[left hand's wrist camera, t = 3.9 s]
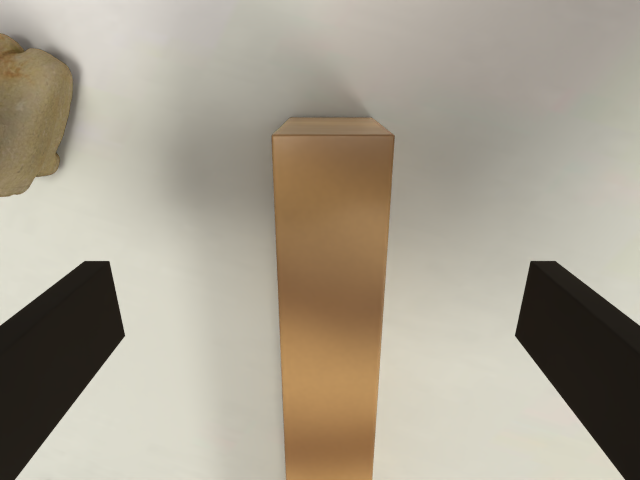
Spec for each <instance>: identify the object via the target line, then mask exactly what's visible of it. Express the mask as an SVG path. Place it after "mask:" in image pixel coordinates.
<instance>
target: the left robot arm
mask: <svg viewBox="0 0 640 480" xmlns="http://www.w3.org/2000/svg"><path fill="white" fill-rule="evenodd" d="M124 336H125V333H124V329H123V324H122V319H121V314H120V310H119V305H118V300H117V295H116V291H115V286H114V281H113V276H112V272H111V267H110V262H109V261H84V262H83V263H82V264H80V265H79V266H78V267H76V268H75V269H74V270H72V271H71V272H70V273H69V274H67V275H66V276H65V277H63V278H62V279H61V280H59V281H58V282H57V283H55V284H54V285H53V286H52V287H50V288H49V289H48V290H46V291H45V292H44V293H42V294H41V295H40V296H39V297H37V298H36V299H35V300H33V301H32V302H31V303H29V304H28V305H27V306H25V307H24V308H23V309H22V310H20V311H19V312H18V313H16V314H15V315H14V316H12V317H11V318H10V319H8V320H7V321H6V322H5V323H3V324H2V325H1V326H0V480H15V479H16V478H17V476H18V475H19V474H20V472H21V471H22V470H23V468H24V467H25V466H26V464H27V463H28V462H29V461H30V459H31V458H32V457H33V455H34V454H35V453H36V451H37V450H38V449H39V447H40V446H41V445H42V444H43V442H44V441H45V440H46V438H47V437H48V436H49V434H50V433H51V432H52V430H53V429H54V428H55V427H56V425H57V424H58V423H59V421H60V420H61V419H62V417H63V416H64V415H65V414H66V412H67V411H68V410H69V408H70V407H71V406H72V404H73V403H74V402H75V400H76V399H77V398H78V397H79V395H80V394H81V393H82V391H83V390H84V389H85V387H86V386H87V385H88V383H89V382H90V381H91V380H92V378H93V377H94V376H95V374H96V373H97V372H98V370H99V369H100V368H101V366H102V365H103V364H104V363H105V361H106V360H107V359H108V357H109V356H110V355H111V353H112V352H113V351H114V349H115V348H116V347H117V346H118V344H119V343H120V342H121V340H122V339H123V338H124ZM515 336H516V338H517V339H518V340H519V342H520V343H521V344H522V346H523V347H524V348H525V349H526V351H527V352H528V353H529V355H530V356H531V357H532V359H533V360H534V361H535V363H536V364H537V365H538V366H539V368H540V369H541V370H542V372H543V373H544V374H545V376H546V377H547V378H548V380H549V381H550V382H551V383H552V385H553V386H554V387H555V389H556V390H557V391H558V393H559V394H560V395H561V397H562V398H563V399H564V400H565V402H566V403H567V404H568V406H569V407H570V408H571V410H572V411H573V412H574V414H575V415H576V416H577V417H578V419H579V420H580V421H581V423H582V424H583V425H584V427H585V428H586V429H587V430H588V432H589V433H590V434H591V436H592V437H593V438H594V440H595V441H596V442H597V444H598V445H599V446H600V447H601V449H602V450H603V451H604V453H605V454H606V455H607V457H608V458H609V459H610V461H611V462H612V463H613V464H614V466H615V467H616V468H617V470H618V471H619V472H620V474H621V475H622V476H623V478H624V479H625V480H640V326H639V325H638V324H637V323H635V322H634V321H633V320H632V319H630V318H629V317H628V316H626V315H625V314H624V313H622V312H621V311H620V310H618V309H617V308H616V307H615V306H613V305H612V304H611V303H609V302H608V301H607V300H605V299H604V298H603V297H601V296H600V295H599V294H598V293H596V292H595V291H594V290H592V289H591V288H590V287H588V286H587V285H586V284H584V283H583V282H582V281H581V280H579V279H578V278H577V277H575V276H574V275H573V274H571V273H570V272H569V271H568V270H566V269H565V268H564V267H562V266H561V265H560V264H558V263H557V262H556V261H531V262H530V267H529V272H528V276H527V281H526V286H525V291H524V295H523V300H522V305H521V310H520V314H519V319H518V324H517V329H516V333H515Z"/></svg>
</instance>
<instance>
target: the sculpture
mask: <svg viewBox="0 0 640 480" xmlns="http://www.w3.org/2000/svg"><path fill="white" fill-rule="evenodd" d="M72 93H73V79H72V75H71V72H70V70H69V68H68V66H67V65H66V64H64V63H63V62H61V61H60V60H58V59H57V58H55V57H53V56H52V55H50V54H49V53H47V52H45V51H43V50H41V49H34V48H29V49H27V50H26V51H24V50H23V48H22V47H21V46H20V45H19V44H18V43H17V42H16V41H15V40H13V39H12V38H10V37H9V36H7V35H4V34H1V33H0V197H6V196H11V195H13V194H16V195H18V194H21V193H23V192H25V191H26V190H27V189H28V188H29V187H30V185H31V183H32V181H33V180H34V178H35V177H41V176H46V175H52V174H53V173H54V172H56V170H57V169H58V166H59V162H60V158H59V156H58V154H57V153H56V151H57V148H58V146H59V144H60V142H61V139H62V137H63V134H64V130H65V126H66V123H67V119H68V116H69V110H70V103H71V100H72Z"/></svg>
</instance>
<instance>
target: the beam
mask: <svg viewBox="0 0 640 480" xmlns="http://www.w3.org/2000/svg"><path fill="white" fill-rule="evenodd" d="M394 139H395V136H394V135H393V134H392V133H391V132H390V131H388V130H387V129H386V128H384V127H383V126H382V125H381V124H379V123H378V122H377V121H375V120H374V119H373V118H319V117H291V118H289V119H288V120H287V121H286V122H285V123H284V124H283V125H282V126H281V127H280V128H279V129H278V130H277V131H276V132H275V133H273V134H272V160H273V183H274V207H275V230H276V254H277V277H278V301H279V324H280V348H281V371H282V395H283V418H284V442H285V465H286V480H372V474H373V459H374V443H375V428H376V413H377V398H378V383H379V367H380V352H381V337H382V322H383V307H384V291H385V276H386V261H387V246H388V231H389V215H390V200H391V185H392V170H393V155H394Z"/></svg>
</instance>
